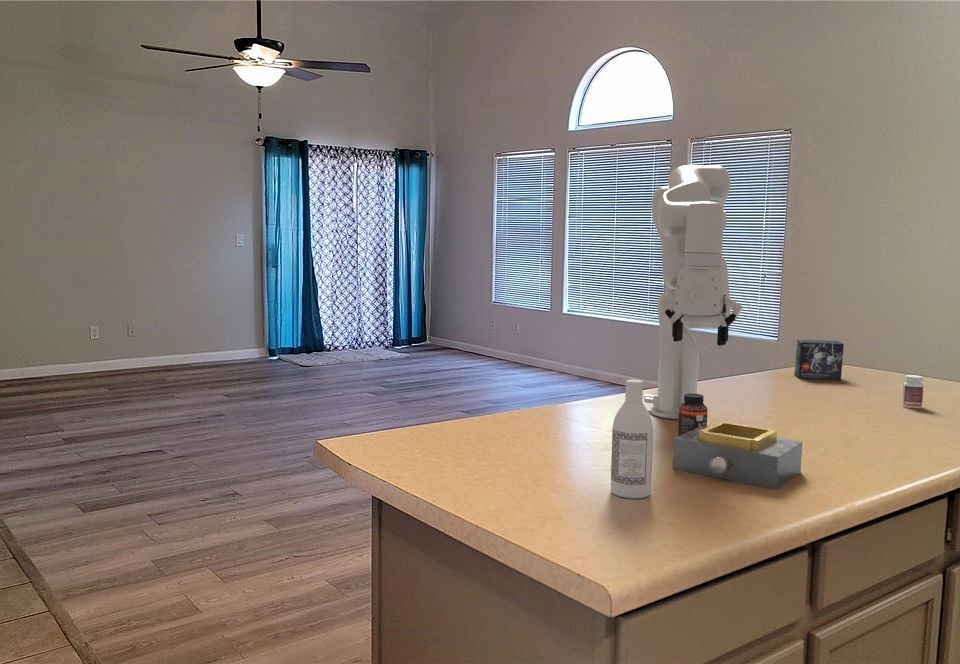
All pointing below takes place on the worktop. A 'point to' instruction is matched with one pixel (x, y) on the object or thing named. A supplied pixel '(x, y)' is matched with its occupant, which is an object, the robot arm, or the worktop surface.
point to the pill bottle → (912, 392)
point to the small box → (819, 359)
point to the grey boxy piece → (738, 454)
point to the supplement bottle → (692, 413)
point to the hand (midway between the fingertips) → (699, 342)
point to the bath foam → (632, 446)
